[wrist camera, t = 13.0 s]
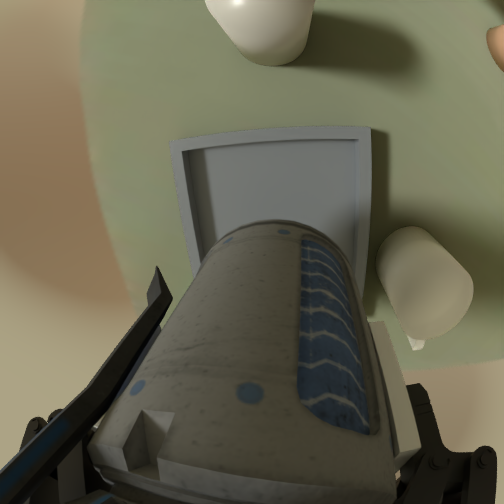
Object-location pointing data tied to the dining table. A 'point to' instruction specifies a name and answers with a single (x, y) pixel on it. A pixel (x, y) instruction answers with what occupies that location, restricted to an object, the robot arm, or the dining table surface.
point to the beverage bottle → (235, 388)
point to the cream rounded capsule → (265, 27)
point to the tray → (276, 185)
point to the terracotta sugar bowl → (496, 44)
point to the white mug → (423, 284)
